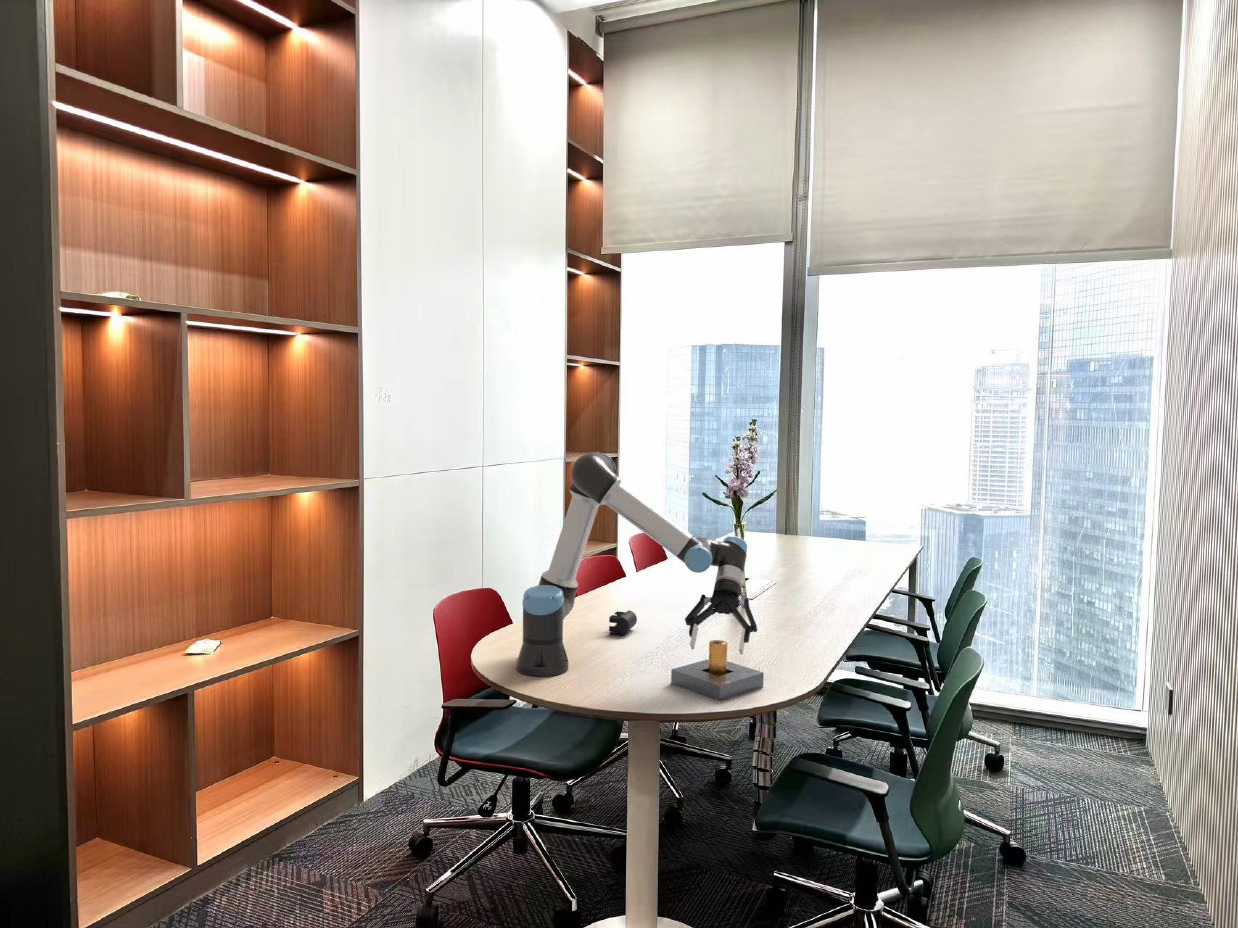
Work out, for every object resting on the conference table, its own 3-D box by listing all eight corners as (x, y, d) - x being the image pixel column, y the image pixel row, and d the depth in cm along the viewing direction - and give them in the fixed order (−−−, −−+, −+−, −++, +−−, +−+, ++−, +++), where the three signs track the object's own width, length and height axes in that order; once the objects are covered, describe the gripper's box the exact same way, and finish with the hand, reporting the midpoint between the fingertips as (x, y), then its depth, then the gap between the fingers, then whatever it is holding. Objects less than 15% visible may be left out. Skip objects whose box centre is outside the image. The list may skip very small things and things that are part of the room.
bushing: (717, 689, 228) (719, 645, 227) (704, 684, 231) (705, 641, 231) (729, 685, 231) (731, 642, 230) (716, 680, 235) (717, 638, 234)
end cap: (628, 637, 279) (629, 617, 278) (608, 635, 281) (608, 615, 280) (636, 630, 288) (637, 610, 288) (617, 628, 290) (617, 608, 290)
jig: (719, 700, 219) (720, 685, 218) (671, 683, 232) (671, 669, 232) (763, 686, 230) (763, 672, 230) (714, 670, 244) (714, 657, 244)
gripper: (772, 595, 240) (763, 661, 227) (688, 588, 248) (674, 651, 235) (770, 580, 235) (760, 647, 222) (684, 573, 243) (669, 637, 230)
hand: (716, 649), depth 228 cm, fingers open, 13 cm apart
